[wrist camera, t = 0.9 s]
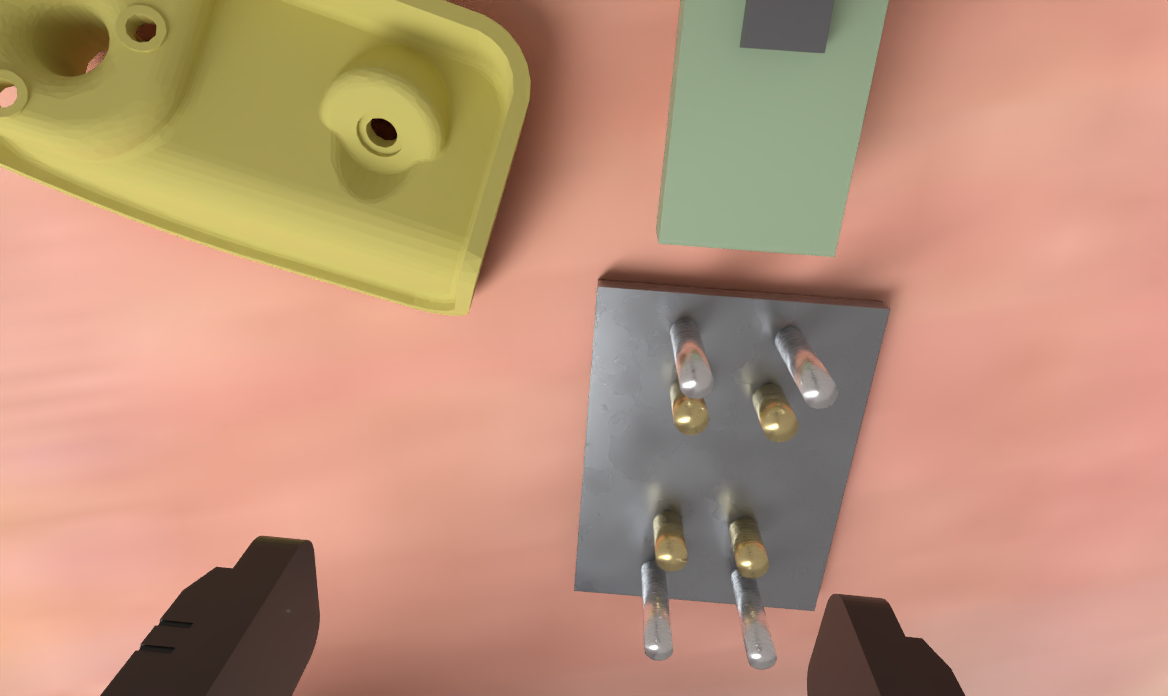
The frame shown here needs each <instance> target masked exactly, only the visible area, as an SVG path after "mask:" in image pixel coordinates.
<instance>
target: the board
mask: <svg viewBox="0 0 1168 696" xmlns="http://www.w3.org/2000/svg"><path fill="white" fill-rule="evenodd" d="M888 2H889V0H681V1H680V11H679V20H678V29H677V39H676V48H675V57H674V67H673V76H672V85H671V95H670V104H669V113H668V123H667V132H666V141H665V151H664V160H663V169H662V179H661V188H660V197H659V206H658V216H657V225H656V233H657V237H658V242H659V244H669V245H683V246H696V247H709V248H722V249H735V250H749V251H762V252H775V253H788V254H801V255H815V256H828V257H835V253H836V248H837V243H838V238H839V234H840V229H841V224H842V220H843V215H844V210H845V205H846V201H847V196H848V191H849V186H850V182H851V177H852V172H853V168H854V163H855V158H856V153H857V149H858V144H859V139H860V135H861V130H862V125H863V120H864V116H865V111H866V106H867V101H868V97H869V92H870V87H871V83H872V78H873V73H874V68H875V64H876V59H877V54H878V49H879V45H880V40H881V35H882V31H883V26H884V21H885V16H886V12H887V7H888Z"/></svg>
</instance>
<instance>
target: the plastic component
mask: <svg viewBox="0 0 1168 696" xmlns="http://www.w3.org/2000/svg"><path fill="white" fill-rule="evenodd" d="M145 23H154V24H156V26H157V27H156V35H155V36H154V37H153V38H152V39H151V40H150V41H148V42H144V41H143V40H142V39H141V38H140V37H139V36H138V35H137V34H136V31H137V28H138V27H140V26H141V25H143V24H145ZM107 49H108V51H107V53H106V55H105V57H104V59H103V61H102V62H101V63H100V64H99V65H98V66H97V67H96V68H94V69H93V70H91V71H90V72H88V73H85V72H86V69H87V66H88V63H89V62H90V61H91V60H92V59H93V58H94V57H95V56H96V55H97V54H98V53H99V52H101V51H104V50H107ZM11 86H15V87H16V88H17V99H16V100H15V102H14V104H12V105H10V106H9V107H7V108H1V106H0V167H2V168H5V169H7V170H10V171H12V172H14V173H17V174H19V175H21V176H24V177H26V178H28V179H31V180H33V181H36V182H38V183H40V184H43V185H45V186H48V187H50V188H53V189H55V190H57V191H60V192H62V193H65V194H67V195H70V196H72V197H75V198H77V199H80V200H82V201H85V202H87V203H90V204H92V205H95V206H97V207H100V208H102V209H105V210H108V211H110V212H113V213H116V214H118V215H121V216H124V217H126V218H129V219H131V220H134V221H137V222H139V223H142V224H145V225H147V226H150V227H153V228H156V229H159V230H162V231H164V232H167V233H170V234H173V235H176V236H178V237H181V238H184V239H187V240H190V241H193V242H196V243H199V244H202V245H205V246H208V247H211V248H214V249H217V250H220V251H223V252H226V253H229V254H232V255H236V256H239V257H242V258H245V259H248V260H252V261H255V262H258V263H262V264H265V265H269V266H272V267H275V268H279V269H282V270H285V271H289V272H292V273H296V274H299V275H302V276H306V277H309V278H313V279H316V280H319V281H323V282H326V283H330V284H333V285H336V286H340V287H343V288H346V289H350V290H353V291H357V292H360V293H363V294H367V295H370V296H374V297H377V298H380V299H384V300H387V301H390V302H394V303H397V304H401V305H404V306H407V307H411V308H414V309H418V310H422V311H426V312H431V313H436V314H442V315H452V316H460V315H466V314H468V313H469V310H470V306H471V303H472V299H473V295H474V291H475V288H476V284H477V280H478V277H479V273H480V270H481V266H482V263H483V259H484V256H485V252H486V249H487V246H488V242H489V239H490V236H491V232H492V229H493V226H494V222H495V219H496V215H497V212H498V209H499V205H500V202H501V199H502V195H503V192H504V189H505V185H506V182H507V179H508V175H509V172H510V168H511V165H512V162H513V158H514V155H515V152H516V148H517V145H518V142H519V138H520V135H521V132H522V128H523V124H524V120H525V116H526V112H527V108H528V104H529V100H530V87H531V81H530V75H529V69H528V64H527V62H526V60H525V57H524V55H523V53H522V51H521V48H520V47H519V45H518V44H517V43H516V41H515V40H514V39H513V37H512V36H511V35H510V33H508V32H507V31H506V30H505V29H504V28H503V27H502V26H501V25H500V24H498V23H497V22H495V21H493V20H492V19H490V18H488V17H487V16H485V15H483V14H480V13H478V12H475V11H472V10H469V9H467V8H464V7H461V6H458V5H456V4H453V3H450V2H447V1H445V0H0V92H1V91H2V90H4V89H5V88H7V87H11ZM373 118H383V119H385V120H387V121H388V122H390V123H391V124H392V125H393V126H394V128H395V129H396V132H397V138H396V139H394V140H384V139H382V138H381V137H379V136H377V135H376V134H375V132H374V131H373V129H372V127H371V120H372V119H373Z"/></svg>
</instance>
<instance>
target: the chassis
mask: <svg viewBox="0 0 1168 696" xmlns="http://www.w3.org/2000/svg"><path fill="white" fill-rule="evenodd" d="M889 311H890V309H889V308H888V307H887V306H886V305H885V304H884V303H883V302H882V301H873V300H859V299H846V298H833V297H820V296H807V295H794V294H781V293H768V292H755V291H742V290H729V289H716V288H703V287H690V286H677V285H664V284H651V283H638V282H625V281H612V280H599V279H598V287H597V300H596V313H595V326H594V339H593V352H592V365H591V378H590V391H589V404H588V417H587V430H586V443H585V456H584V470H583V483H582V496H581V509H580V522H579V535H578V548H577V561H576V574H575V587H574V591H584V592H596V593H608V594H620V595H632V596H642V601H643V625H644V649H645V654H646V655H647V656H648V657H649V658H650V659H653V660H657V661H660V660H665V659H667V658H669V657H670V656H671V655H672V653H673V645H672V634H671V623H670V612H669V601H668V599H679V600H691V601H703V602H714V603H726V604H736V606H737V610H738V615H739V620H740V625H741V629H742V634H743V639H744V644H745V648H746V653H747V658H748V662H749V664H750V665H751V666H752V667H754V668H756V669H768V668H770V667H772V666H773V665H774V664H775V663H776V660H777V657H776V653H775V649H774V645H773V641H772V637H771V634H770V630H769V626H768V622H767V618H766V614H765V610H764V607H773V608H785V609H797V610H809V611H814V610H815V606H816V602H817V598H818V594H819V590H820V586H821V582H822V578H823V574H824V570H825V566H826V562H827V558H828V554H829V550H830V546H831V542H832V538H833V534H834V530H835V526H836V522H837V518H838V514H839V510H840V506H841V502H842V498H843V494H844V490H845V486H846V482H847V478H848V474H849V470H850V466H851V462H852V459H853V455H854V451H855V447H856V443H857V439H858V435H859V431H860V427H861V423H862V419H863V415H864V411H865V407H866V403H867V399H868V395H869V391H870V387H871V383H872V379H873V375H874V371H875V367H876V363H877V359H878V355H879V351H880V347H881V343H882V339H883V335H884V331H885V327H886V323H887V319H888V315H889Z"/></svg>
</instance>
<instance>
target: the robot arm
mask: <svg viewBox="0 0 1168 696" xmlns="http://www.w3.org/2000/svg"><path fill="white" fill-rule="evenodd" d="M319 622H320V611H319V600H318V589H317V578H316V567H315V556H314V548H313V545H312V543H311V542H310V541H309V540H300V539H290V538H280V537H270V536H259V537H257V538H256V539H255V540H254V541H253V542H252V543H251V544H250V546H249V547H248V548H247V550H246V551H245V553H244V554H243V555H242V557H241V558H240V559H239V561H238V562H237V564H236V565H235V566H234V568H233V569H232V568H222V567H215V568H214V569H213V570H211V571H210V572H208V573H207V574H206V575H204V576H203V577H201V578H200V579H198V580H197V581H196V582H194V583H193V584H191V585H190V586H189V587H187V588H186V589H184V590H183V591H182V592H181V594H180V595H179V596H178V597H177V599H176V600H175V601H174V602H173V604H172V605H171V606H170V608H169V609H168V610H167V611H166V613H165V614H164V615H163V616H162V618H161V619H160V623H159V625H158V626H155V627H154V628H153V629H152V630H151V632H150V633H149V634H148V636H147V637H146V638H145V639H144V641H143V642H142V643H141V647H140V649H139V651H135V652H134V653H133V655H132V656H131V657H130V658H129V660H128V661H127V662H126V663H125V665H124V666H123V667H122V669H121V670H120V671H119V672H118V674H117V675H116V676H115V677H114V679H113V680H112V681H111V683H110V684H109V685H108V686H107V688H106V689H105V690H104V691H103V693H102V694H101V695H100V696H292V694H293V692H294V690H295V688H296V686H297V684H298V682H299V680H300V678H301V676H302V674H303V672H304V670H305V668H306V666H307V664H308V662H309V660H310V657H311V655H312V652H313V650H314V647H315V643H316V640H317V635H318V630H319ZM807 693H808V696H965V694H964V692H963V690H962V689H961V687H960V685H959V683H958V681H957V679H956V677H955V675H954V673H953V672H952V670H951V668H950V667H949V666H948V665H947V664H946V663H945V662H944V661H943V660H942V659H941V658H940V657H939V656H938V655H937V654H936V653H935V652H934V650H933V649H932V648H931V647H930V646H929V645H928V644H927V643H926V642H925V641H924V640H923V639H922V638H912V637H905V635H904V633H903V631H902V629H901V627H900V624H899V622H898V620H897V618H896V616H895V614H894V612H893V610H892V608H891V606H890V604H889V603H888V602H887V601H886V600H885V599H882V598H873V597H863V596H852V595H842V594H833V595H832V596H831V597H830V598H829V600H828V603H827V606H826V609H825V612H824V616H823V619H822V622H821V626H820V629H819V632H818V636H817V639H816V643H815V646H814V649H813V653H812V656H811V659H810V663H809V667H808V675H807Z"/></svg>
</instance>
